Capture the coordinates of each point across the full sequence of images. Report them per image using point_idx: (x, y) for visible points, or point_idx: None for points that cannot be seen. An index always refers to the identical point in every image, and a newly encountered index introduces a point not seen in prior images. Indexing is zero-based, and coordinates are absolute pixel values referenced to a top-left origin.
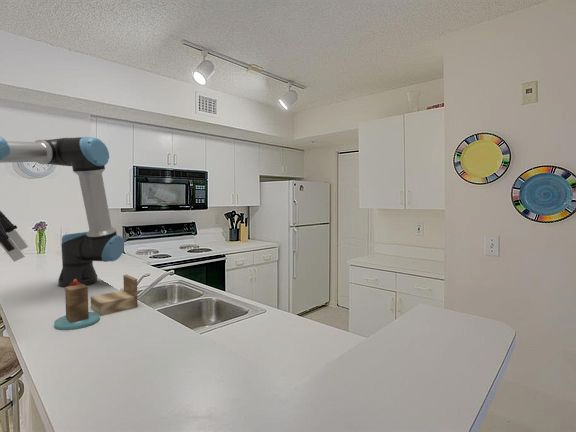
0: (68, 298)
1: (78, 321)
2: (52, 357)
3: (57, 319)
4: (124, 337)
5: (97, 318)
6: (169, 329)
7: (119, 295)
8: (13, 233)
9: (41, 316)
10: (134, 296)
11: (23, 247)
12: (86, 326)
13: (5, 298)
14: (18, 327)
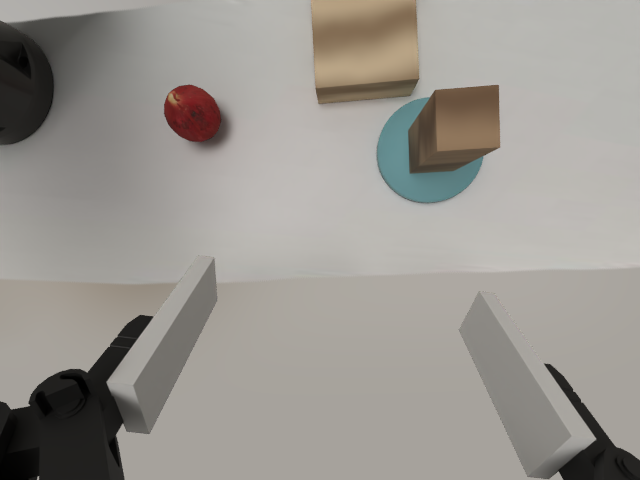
0: (475, 156)
1: None
2: (624, 228)
3: (402, 192)
4: (623, 82)
5: None
6: None
7: (366, 9)
8: (152, 379)
9: (312, 218)
10: None
11: (212, 281)
12: None
13: (66, 279)
14: (367, 268)
